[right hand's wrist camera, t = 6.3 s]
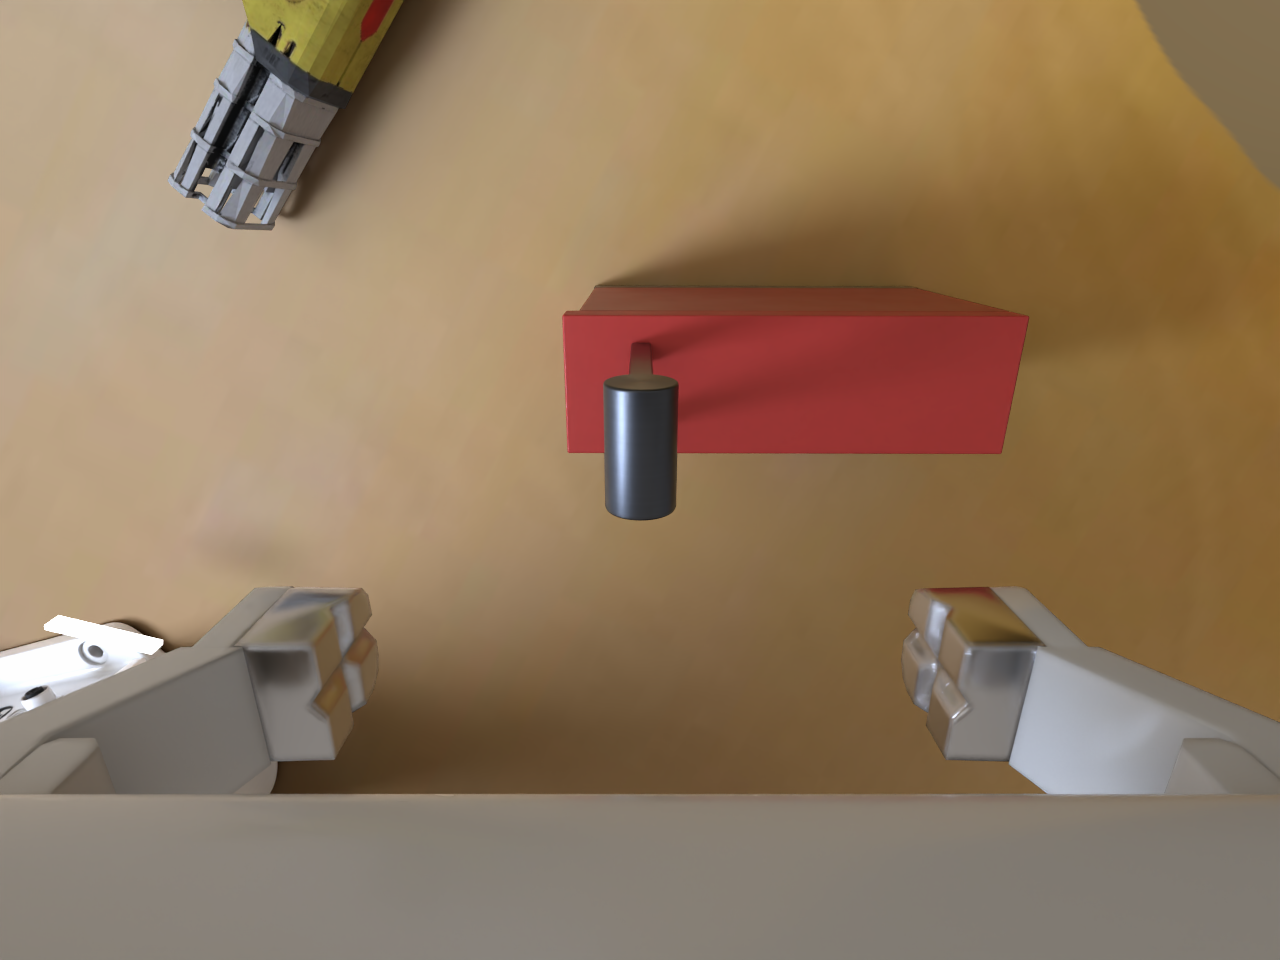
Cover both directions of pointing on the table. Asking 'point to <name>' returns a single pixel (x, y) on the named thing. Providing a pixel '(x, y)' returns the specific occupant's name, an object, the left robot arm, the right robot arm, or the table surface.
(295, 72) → the toy gun
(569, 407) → the lid
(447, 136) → the table surface
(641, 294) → the chest
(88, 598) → the table surface
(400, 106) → the table surface
